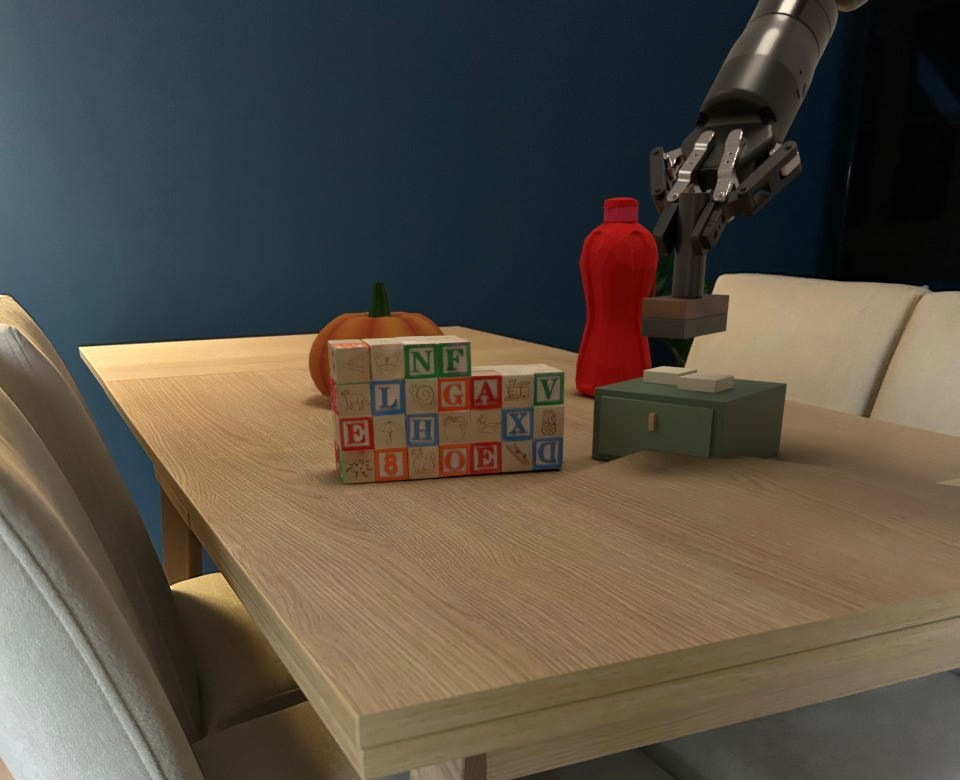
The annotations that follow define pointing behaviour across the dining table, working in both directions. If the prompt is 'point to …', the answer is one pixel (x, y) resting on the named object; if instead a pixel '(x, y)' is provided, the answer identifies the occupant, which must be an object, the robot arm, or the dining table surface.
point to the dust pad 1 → (666, 375)
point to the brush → (686, 286)
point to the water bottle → (615, 298)
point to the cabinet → (688, 419)
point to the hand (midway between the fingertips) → (679, 247)
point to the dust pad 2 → (705, 382)
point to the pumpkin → (365, 332)
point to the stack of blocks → (439, 411)
